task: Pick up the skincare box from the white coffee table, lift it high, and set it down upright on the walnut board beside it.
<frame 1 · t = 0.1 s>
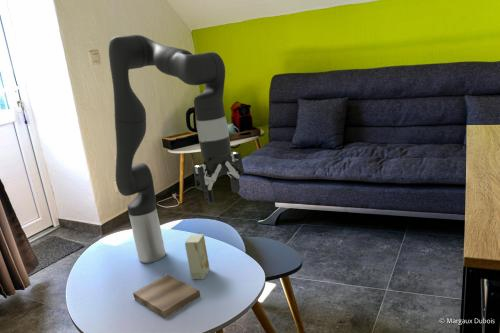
hand: (223, 197, 111), 29 cm above the table, tool pointing down, fingers open, 8 cm apart
skincare box: (201, 274, 134), on the table
walnut board: (166, 297, 123), on the table
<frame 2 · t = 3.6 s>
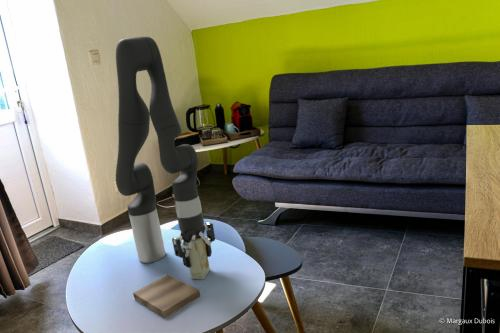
hand: (198, 261, 132), 4 cm above the table, tool pointing down, fingers closed on skincare box, 7 cm apart
skincare box: (201, 274, 134), on the table, touching gripper
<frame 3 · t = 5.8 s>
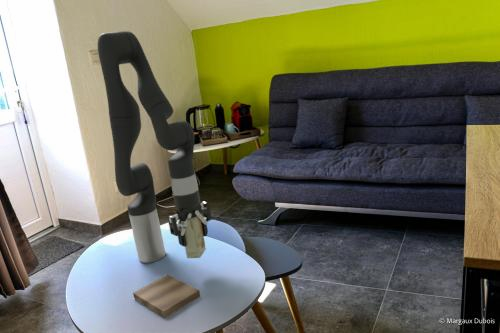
hand: (194, 240, 131), 11 cm above the table, tool pointing down, fingers closed on skincare box, 7 cm apart
skincare box: (196, 254, 132), point 7 cm above the table, touching gripper
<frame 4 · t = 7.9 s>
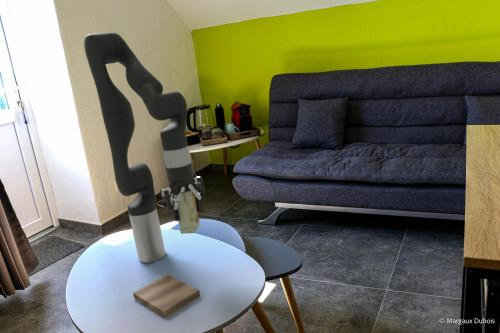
hand: (188, 215, 128), 20 cm above the table, tool pointing down, fingers closed on skincare box, 7 cm apart
skincare box: (190, 230, 129), point 15 cm above the table, touching gripper
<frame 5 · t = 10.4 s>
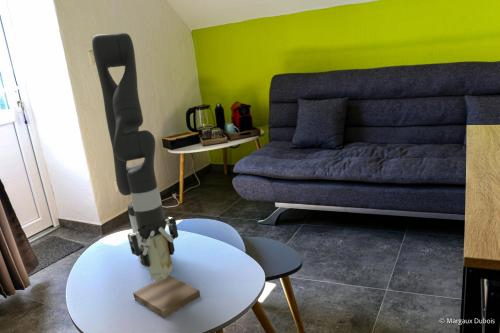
hand: (159, 259, 120), 12 cm above the table, tool pointing down, fingers closed on skincare box, 7 cm apart
skincare box: (162, 274, 121), point 7 cm above the table, touching gripper
when the fingers open (8 cm above the table, at t = 12.3 s): skincare box drops 1 cm, resting on walnut board.
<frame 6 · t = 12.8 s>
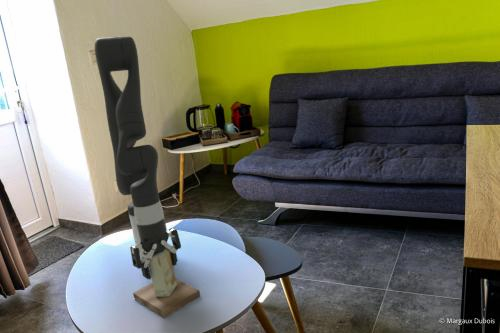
hand: (161, 271, 121), 8 cm above the table, tool pointing down, fingers open, 8 cm apart
skincare box: (166, 291, 123), point 2 cm above the table, touching walnut board
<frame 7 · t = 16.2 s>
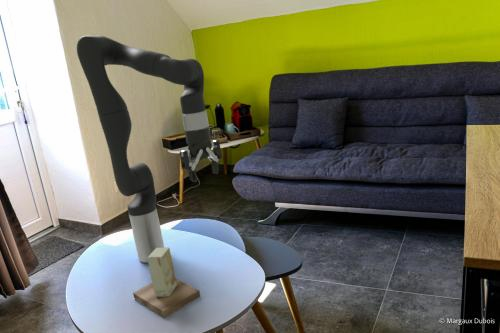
hand: (205, 177, 135), 28 cm above the table, tool pointing down, fingers open, 8 cm apart
nothing on the table moved.
at the end: skincare box inside the target area on the walnut board (0.4 cm from its centre), point 1.8 cm above the walnut board's base; skincare box tilted 0°; the gripper is holding nothing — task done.
